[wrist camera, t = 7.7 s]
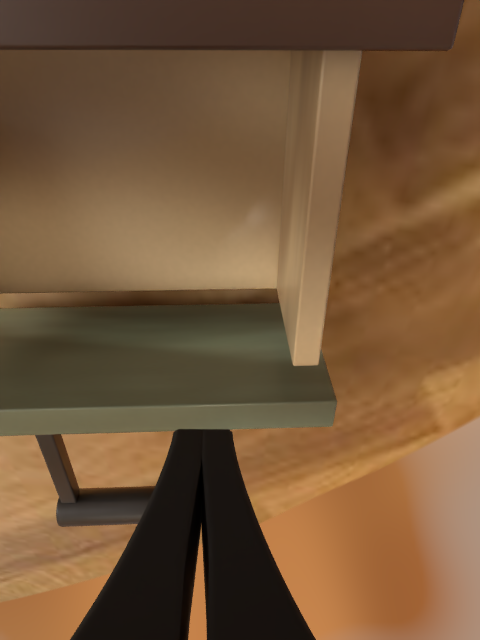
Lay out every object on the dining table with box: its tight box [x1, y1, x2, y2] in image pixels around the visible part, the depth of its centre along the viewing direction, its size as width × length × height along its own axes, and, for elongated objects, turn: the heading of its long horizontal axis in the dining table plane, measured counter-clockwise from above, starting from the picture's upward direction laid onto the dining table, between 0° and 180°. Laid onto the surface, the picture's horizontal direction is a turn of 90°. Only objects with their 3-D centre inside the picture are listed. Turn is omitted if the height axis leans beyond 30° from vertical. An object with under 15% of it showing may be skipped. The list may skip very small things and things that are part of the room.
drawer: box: [0, 50, 362, 527], centre depth 15 cm, size 19×13×6 cm
